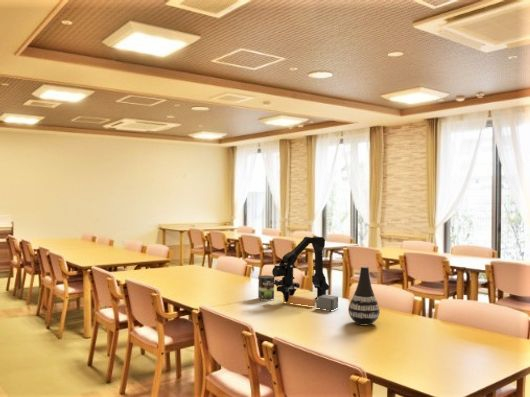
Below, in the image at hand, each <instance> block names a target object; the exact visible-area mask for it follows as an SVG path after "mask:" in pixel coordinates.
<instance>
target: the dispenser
mask: <svg viewBox="0 0 530 397" xmlns="http://www.w3.org/2000/svg"><path fill="white" fill-rule="evenodd" d="M315 307H316V308H320V309H326V310H334V309H336V308H338V309H339V296H336V295H331V294H330V295H329V294H326V295H322V296H320V297H318V298H317V299H315Z"/></svg>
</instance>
